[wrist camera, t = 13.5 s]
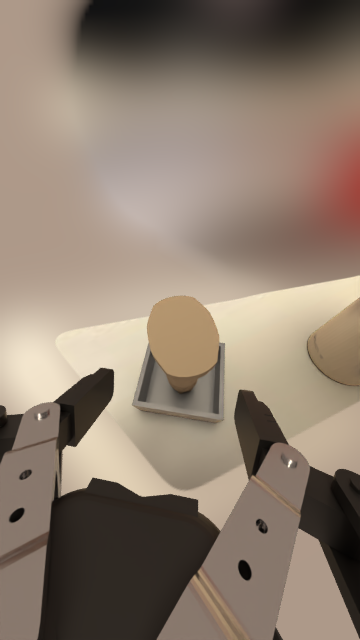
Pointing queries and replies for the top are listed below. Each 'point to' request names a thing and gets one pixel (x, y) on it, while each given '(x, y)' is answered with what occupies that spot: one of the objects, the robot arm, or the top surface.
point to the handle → (183, 340)
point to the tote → (195, 404)
